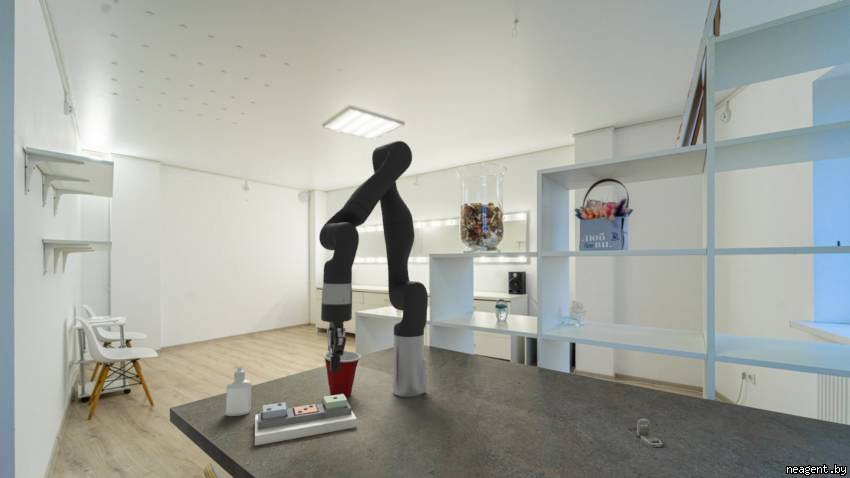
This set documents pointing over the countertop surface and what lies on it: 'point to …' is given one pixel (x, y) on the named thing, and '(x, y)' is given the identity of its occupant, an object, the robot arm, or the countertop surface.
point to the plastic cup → (342, 373)
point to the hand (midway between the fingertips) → (334, 371)
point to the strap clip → (645, 434)
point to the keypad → (303, 423)
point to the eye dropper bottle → (238, 395)
